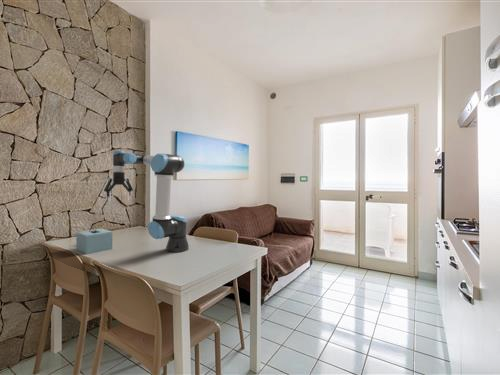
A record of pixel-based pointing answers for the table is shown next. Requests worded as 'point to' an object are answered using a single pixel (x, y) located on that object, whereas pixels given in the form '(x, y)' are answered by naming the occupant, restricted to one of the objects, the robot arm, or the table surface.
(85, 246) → the box
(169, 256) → the table surface
